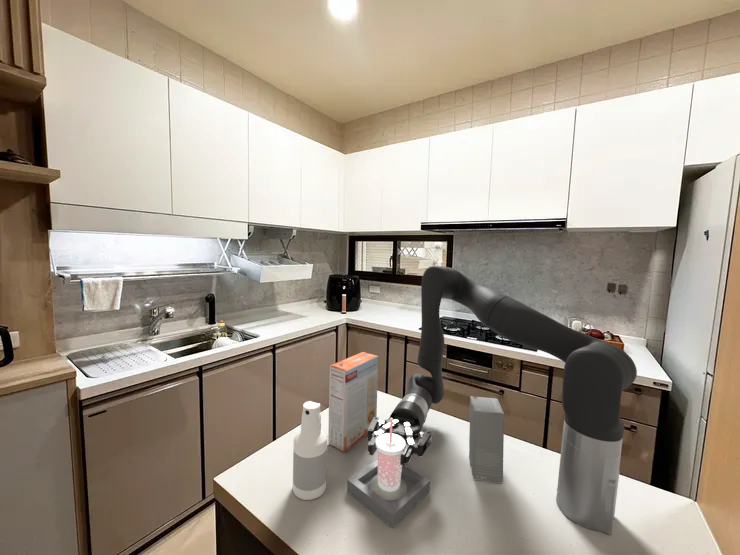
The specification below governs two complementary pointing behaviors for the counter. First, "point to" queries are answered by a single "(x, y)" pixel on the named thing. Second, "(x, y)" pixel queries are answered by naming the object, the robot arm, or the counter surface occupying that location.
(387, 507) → the coaster tray
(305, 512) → the counter surface
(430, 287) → the robot arm
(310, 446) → the spray bottle
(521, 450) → the counter surface
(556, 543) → the counter surface
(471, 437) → the skincare box
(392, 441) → the beverage cup
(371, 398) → the cracker box
